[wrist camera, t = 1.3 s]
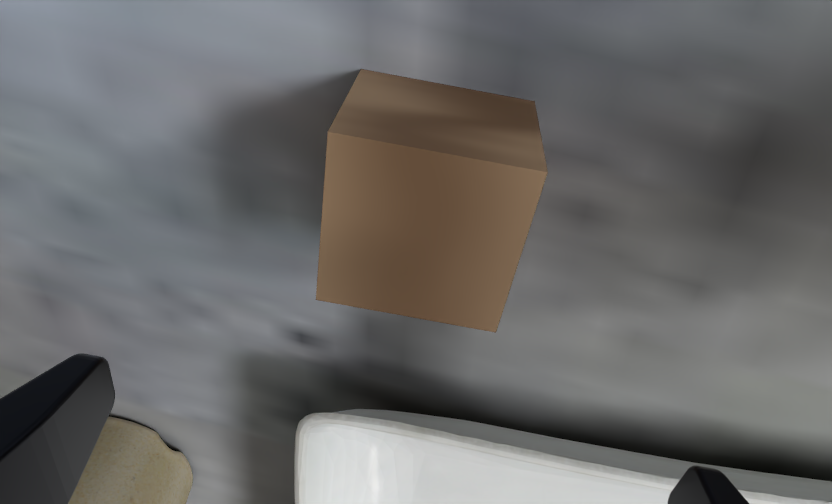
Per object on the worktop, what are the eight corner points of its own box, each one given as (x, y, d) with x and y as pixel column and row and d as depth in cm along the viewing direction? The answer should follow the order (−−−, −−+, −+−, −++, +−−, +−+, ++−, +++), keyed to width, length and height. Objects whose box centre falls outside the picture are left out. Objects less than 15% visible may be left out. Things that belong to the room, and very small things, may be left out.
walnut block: (534, 99, 15) (547, 172, 12) (493, 241, 18) (495, 332, 14) (361, 67, 15) (327, 131, 12) (347, 214, 18) (315, 299, 14)
